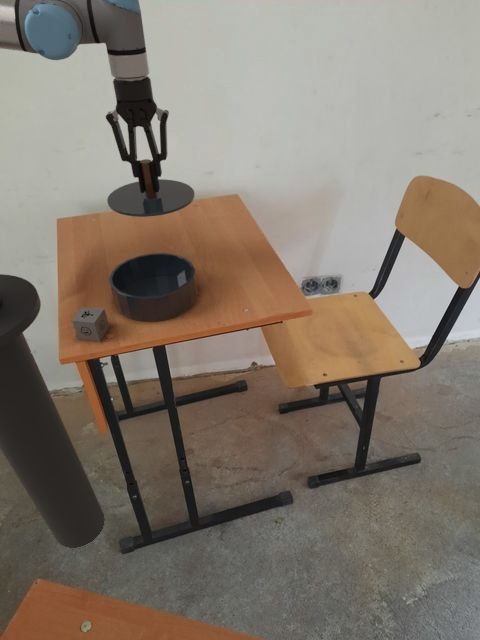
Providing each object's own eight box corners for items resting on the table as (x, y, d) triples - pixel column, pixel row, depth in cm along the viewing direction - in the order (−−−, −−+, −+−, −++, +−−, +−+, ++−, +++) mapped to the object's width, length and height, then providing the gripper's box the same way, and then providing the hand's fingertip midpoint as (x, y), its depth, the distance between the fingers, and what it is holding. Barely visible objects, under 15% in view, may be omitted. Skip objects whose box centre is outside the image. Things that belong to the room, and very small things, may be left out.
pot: (107, 323, 106) (100, 299, 101) (123, 276, 120) (118, 254, 116) (194, 320, 106) (191, 296, 102) (200, 274, 121) (197, 251, 116)
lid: (100, 220, 105) (89, 179, 99) (116, 185, 120) (108, 147, 114) (192, 217, 105) (187, 176, 99) (197, 182, 121) (193, 145, 115)
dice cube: (88, 325, 105) (82, 306, 102) (109, 327, 105) (104, 308, 101) (78, 339, 101) (71, 320, 98) (99, 341, 101) (94, 322, 98)
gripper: (171, 72, 99) (184, 183, 114) (96, 74, 98) (119, 185, 114) (168, 80, 93) (182, 195, 109) (87, 82, 93) (113, 197, 108)
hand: (150, 190), depth 111 cm, fingers closed on lid, 3 cm apart
